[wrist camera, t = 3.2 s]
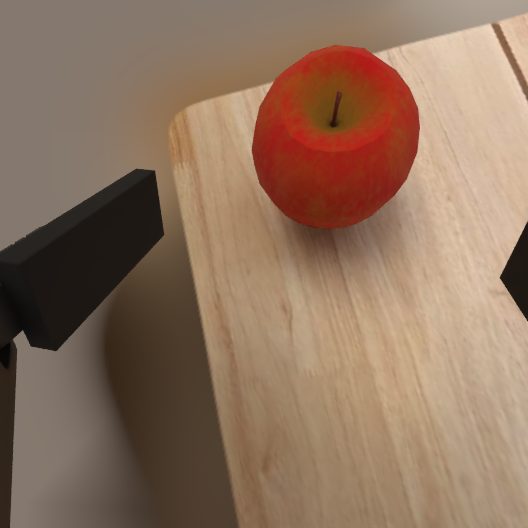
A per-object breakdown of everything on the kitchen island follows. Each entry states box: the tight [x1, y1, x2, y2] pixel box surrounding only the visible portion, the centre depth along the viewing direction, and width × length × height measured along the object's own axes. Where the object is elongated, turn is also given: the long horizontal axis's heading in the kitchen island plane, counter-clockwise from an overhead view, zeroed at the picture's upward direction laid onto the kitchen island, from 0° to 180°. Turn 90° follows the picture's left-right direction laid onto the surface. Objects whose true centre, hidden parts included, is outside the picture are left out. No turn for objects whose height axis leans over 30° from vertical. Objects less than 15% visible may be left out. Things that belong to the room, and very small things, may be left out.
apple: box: [252, 45, 420, 229], centre depth 19 cm, size 9×8×11 cm
